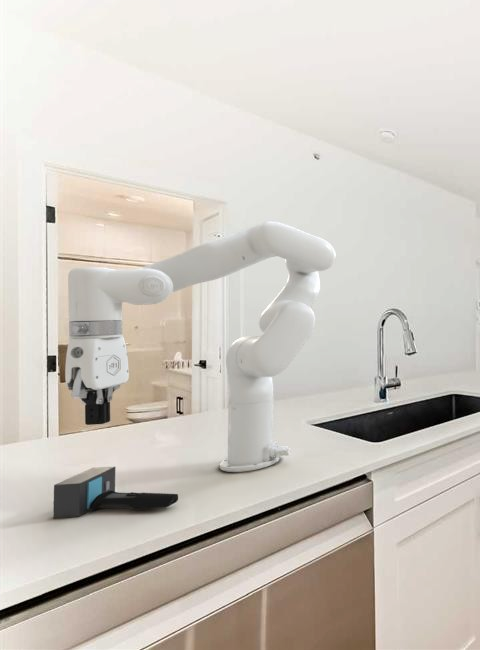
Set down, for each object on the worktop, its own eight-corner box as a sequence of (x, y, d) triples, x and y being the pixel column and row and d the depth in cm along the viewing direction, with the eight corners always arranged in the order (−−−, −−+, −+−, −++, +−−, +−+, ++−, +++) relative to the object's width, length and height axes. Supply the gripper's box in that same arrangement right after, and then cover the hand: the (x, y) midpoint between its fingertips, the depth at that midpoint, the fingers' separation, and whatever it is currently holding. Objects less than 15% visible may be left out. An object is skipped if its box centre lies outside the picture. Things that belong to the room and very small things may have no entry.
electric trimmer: (166, 515, 78) (167, 497, 78) (86, 512, 79) (87, 494, 79) (183, 506, 82) (183, 489, 82) (106, 503, 83) (107, 486, 83)
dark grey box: (117, 466, 86) (81, 483, 78) (116, 496, 86) (80, 516, 77) (92, 467, 86) (53, 485, 77) (92, 497, 85) (53, 518, 77)
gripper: (88, 331, 77) (90, 432, 77) (143, 328, 92) (144, 413, 92) (39, 332, 76) (41, 435, 76) (103, 329, 90) (104, 415, 90)
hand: (97, 423), depth 84 cm, fingers closed
